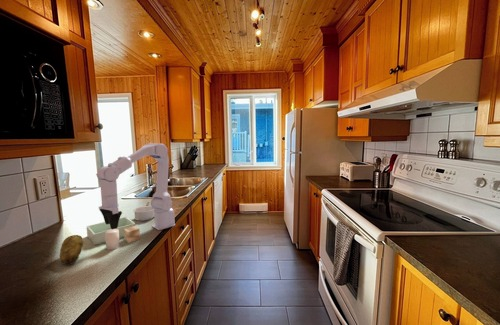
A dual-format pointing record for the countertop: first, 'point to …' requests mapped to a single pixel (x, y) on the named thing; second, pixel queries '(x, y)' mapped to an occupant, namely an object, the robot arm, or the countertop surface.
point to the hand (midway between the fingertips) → (111, 226)
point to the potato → (71, 249)
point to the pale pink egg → (112, 239)
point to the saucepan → (144, 213)
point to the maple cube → (131, 234)
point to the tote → (98, 230)
